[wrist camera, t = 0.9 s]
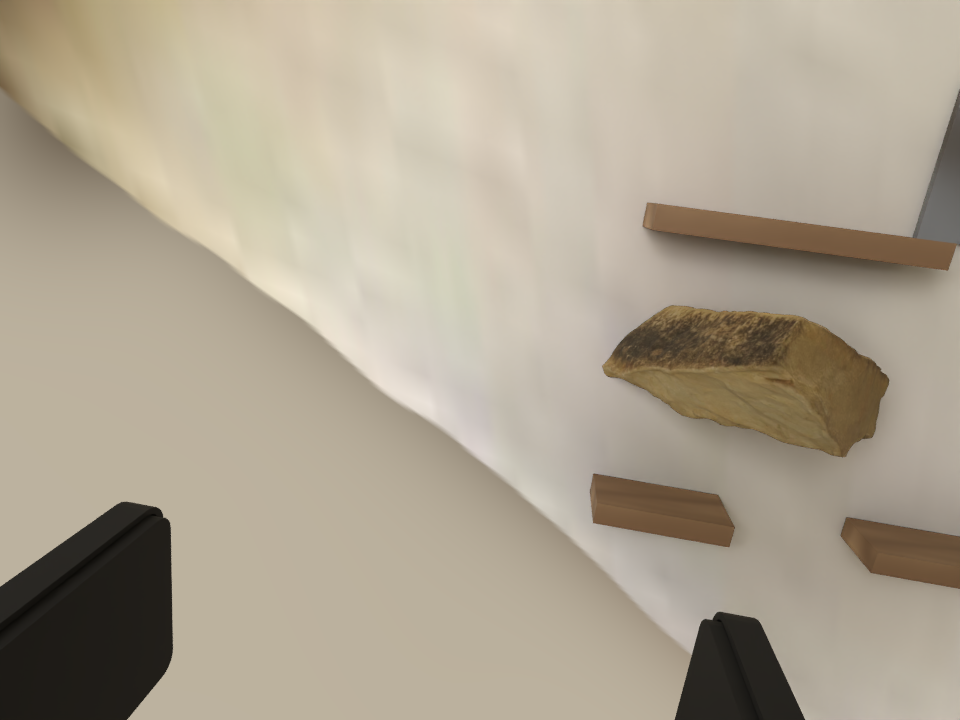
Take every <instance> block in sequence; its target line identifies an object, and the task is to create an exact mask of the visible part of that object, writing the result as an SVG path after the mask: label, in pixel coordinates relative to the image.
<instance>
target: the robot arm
mask: <svg viewBox="0 0 960 720" xmlns="http://www.w3.org/2000/svg"><path fill="white" fill-rule="evenodd" d="M172 634H173V633H172V580H171V527H170V522H169V520H168V519H166V518H163V514H162V512H161V510H160V509H159V508H157V507H152V506H147V505H141V504H136V503H131V502H121V503H119V504H117V505H116V506H114V507H113V508H111V509H110V510H109V511H107V512H106V513H104V514H103V515H101V516H100V517H99V518H97V519H96V520H94V521H93V522H92V523H90V524H89V525H87V526H86V527H84V528H83V529H81V530H80V531H79V532H77V533H76V534H74V535H73V536H72V537H70V538H69V539H67V540H66V541H64V542H63V543H62V544H60V545H59V546H57V547H56V548H55V549H53V550H52V551H50V552H49V553H47V554H46V555H45V556H43V557H42V558H41V559H39V560H38V561H36V562H35V563H33V564H32V565H30V566H29V567H28V568H26V569H25V570H24V571H22V572H21V573H19V574H18V575H16V576H15V577H14V578H12V579H11V580H9V581H8V582H6V583H5V584H4V585H2V586H1V587H0V720H127V719H128V718H129V717H130V715H131V714H132V713H133V712H134V710H135V709H136V708H137V707H138V706H139V704H140V703H141V702H142V701H143V700H144V698H145V697H146V696H147V695H148V694H149V692H150V691H151V690H152V689H153V687H154V686H155V685H156V684H157V682H158V681H159V680H160V679H161V678H162V676H163V675H164V674H165V672H166V670H167V668H168V666H169V664H170V661H171V658H172V653H173V636H172ZM675 720H805V719H804V716H803V714H802V712H801V710H800V708H799V706H798V703H797V701H796V699H795V697H794V695H793V693H792V690H791V688H790V686H789V684H788V682H787V680H786V677H785V675H784V673H783V671H782V669H781V667H780V664H779V662H778V660H777V658H776V656H775V654H774V651H773V649H772V647H771V645H770V643H769V641H768V638H767V636H766V634H765V632H764V630H763V628H762V625H761V624H760V622H759V621H758V620H757V619H755V618H751V617H745V616H740V615H735V614H729V613H724V612H717V613H716V614H715V616H714V618H713V620H708V619H704V620H703V621H702V622H701V624H700V627H699V631H698V635H697V638H696V642H695V646H694V650H693V653H692V657H691V661H690V665H689V668H688V672H687V676H686V680H685V683H684V687H683V691H682V695H681V699H680V702H679V706H678V710H677V713H676V717H675Z"/></svg>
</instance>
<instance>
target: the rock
mask: <svg viewBox="0 0 960 720" xmlns="http://www.w3.org/2000/svg"><path fill="white" fill-rule="evenodd" d="M602 367H603V370H604V373H605V374H606V375H607V376H608V377H616V378H621V379H624V380H626V381H628V382H630V383H632V384H634V385H636V386H638V387H641V388H643V389H646V390H647V391H649V392H650V393H651V394H652V395H653V396H655V397H657V398H660V399H661V401H663V402H664V403H666V404H668V405H670V407H671V408H672V409H674V410H675V411H676V412H678V413H679V414H681V415H683V416H686V417H690V418H695V419H701V418H708V419H711V420H713V421H715V422H717V423H719V424H720V425H724V426H737V427H740V428H747V429H754V430H757V431H759V432H762V433H764V434H767V435H769V436H771V437H773V438H775V439H777V440H779V441H781V442H784V443H788V444H793V445H798V446H802V447H807V448H812V449H819V450H822V451H824V452H826V453H828V454H830V455H833V456H839V457H846V455H847V453H848V451H849V449H850V448H851V446H852V445H853V444H854V443H855V442H858V441H860V440H861V438H863V439H868V438H872V437H873V434H874V432H875V429H876V420H877V417H878V413H879V405H880V400H881V398H882V397H883V396H884V394H885V392H886V389H887V387H888V385H889V378H888V377H887V375H886V374H884V373H882V372H881V368H880V367H878V366H877V365H876V363H875V362H874V361H872V360H871V359H870V358H868V357H865V356H862V355H859V354H858V353H857V352H856V350H855V349H853V348H851V347H850V346H849V345H847V344H846V343H845V342H844V341H843V340H842V339H841V338H839V337H837V336H836V335H835V334H833V333H831V332H830V331H829V330H828V329H827V328H825V327H823V326H821V325H819V324H816V323H813V322H810V321H808V320H807V319H805V318H803V317H799V316H796V315H781V314H770V313H764V312H763V313H758V312H754V311H746V312H736V311H732V312H728V311H723V312H716V311H713V310H708V309H695V308H693V307H688V306H674V305H672V306H669V307H666V308H665V309H663V310H662V311H660V312H659V313H657V314H656V315H654V316H653V317H651V318H650V319H648V320H647V321H645V322H644V323H643V324H641V325H640V326H639V327H638V328H636V329H635V330H633V331H632V332H630V333H629V334H628V335H627V336H626V337H625V338H624V339H623V340H622V341H621V342H620V344H619V345H618V346H617V347H616V349H615V350H614V352H613V353H612V355H611V357H610V358H609V359H608V361H607V362H606V363H605V364H604V365H603V366H602Z"/></svg>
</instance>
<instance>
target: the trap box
mask: <svg viewBox="0 0 960 720" xmlns="http://www.w3.org/2000/svg"><path fill="white" fill-rule="evenodd" d="M643 226H644V227H646V228H649V229H651V230H656V231H664V232H671V233H678V234H686V235H693V236H700V237H707V238H715V239H722V240H729V241H737V242H744V243H751V244H758V245H766V246H773V247H780V248H788V249H795V250H802V251H809V252H817V253H824V254H831V255H839V256H846V257H853V258H860V259H868V260H875V261H882V262H890V263H897V264H904V265H911V266H919V267H926V268H933V269H941V270H948V269H949V266H950V263H951V260H952V257H953V254H954V251H955V248H956V245H957V244H960V91H959V94H958V97H957V100H956V103H955V106H954V109H953V113H952V116H951V119H950V122H949V125H948V128H947V131H946V135H945V138H944V141H943V144H942V147H941V150H940V153H939V157H938V160H937V163H936V166H935V169H934V172H933V175H932V179H931V182H930V185H929V188H928V191H927V194H926V197H925V201H924V204H923V207H922V210H921V213H920V216H919V219H918V223H917V226H916V229H915V232H914V235H913V238H910V237H903V236H895V235H888V234H880V233H873V232H865V231H858V230H850V229H843V228H835V227H828V226H821V225H813V224H806V223H798V222H791V221H783V220H776V219H768V218H761V217H753V216H746V215H738V214H731V213H723V212H716V211H708V210H701V209H693V208H686V207H678V206H671V205H663V204H655V203H647V206H646V211H645V216H644V221H643ZM590 497H591V507H592V517H593V523H596V524H602V525H607V526H613V527H618V528H624V529H630V530H635V531H641V532H646V533H652V534H657V535H663V536H669V537H674V538H680V539H685V540H691V541H696V542H702V543H708V544H713V545H719V546H724V547H730V543H731V540H732V536H733V532H734V529H735V527H734V525H733V523H732V521H731V519H730V517H729V515H728V513H727V512H726V510H725V508H724V506H723V504H722V502H721V500H720V498H719V496H718V495H714V494H708V493H703V492H697V491H691V490H685V489H679V488H674V487H668V486H662V485H656V484H650V483H645V482H639V481H633V480H627V479H621V478H616V477H610V476H604V475H598V474H593V479H592V484H591V489H590ZM841 537H842V538H843V539H844V541H845V542H846V543H847V544H848V545H849V547H850V548H851V549H852V550H853V552H854V553H855V554H856V555H857V556H858V558H859V559H860V560H861V561H862V563H863V564H864V565H865V566H866V567H867V569H868V570H869V571H870V572H871V573H875V574H880V575H886V576H892V577H897V578H903V579H908V580H914V581H919V582H925V583H931V584H936V585H942V586H947V587H953V588H958V589H960V537H958V536H952V535H946V534H940V533H935V532H929V531H923V530H917V529H911V528H906V527H900V526H894V525H888V524H882V523H877V522H871V521H865V520H859V519H853V518H848V517H847V518H846V521H845V524H844V527H843V530H842V533H841Z"/></svg>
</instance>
